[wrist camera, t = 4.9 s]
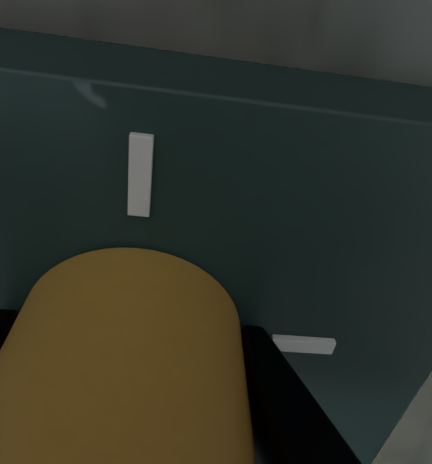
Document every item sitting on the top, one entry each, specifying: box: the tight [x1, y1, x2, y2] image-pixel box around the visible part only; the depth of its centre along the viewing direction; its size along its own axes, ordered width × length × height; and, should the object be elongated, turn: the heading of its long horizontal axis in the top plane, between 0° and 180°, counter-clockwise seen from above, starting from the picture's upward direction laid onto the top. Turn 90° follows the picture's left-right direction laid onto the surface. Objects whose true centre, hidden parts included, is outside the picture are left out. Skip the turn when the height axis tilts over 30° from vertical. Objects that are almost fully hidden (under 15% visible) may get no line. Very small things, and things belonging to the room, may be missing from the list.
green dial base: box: [0, 28, 432, 464], centre depth 10 cm, size 14×10×3 cm
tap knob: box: [0, 247, 256, 464], centre depth 6 cm, size 4×4×5 cm
